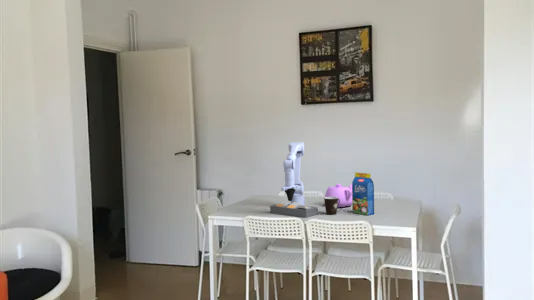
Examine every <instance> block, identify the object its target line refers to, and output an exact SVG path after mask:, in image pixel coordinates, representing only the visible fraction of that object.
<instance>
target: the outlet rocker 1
mask: <svg viewBox="0 0 534 300" xmlns="http://www.w3.org/2000/svg"><path fill="white" fill-rule="evenodd" d="M288 204H291V201H288V200H285V201H284V200H282V201H281V202H279V203H277V205H276V204H275V205H276V206H278V207H283V206H287V205H288Z"/></svg>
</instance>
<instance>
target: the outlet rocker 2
mask: <svg viewBox="0 0 534 300" xmlns="http://www.w3.org/2000/svg"><path fill="white" fill-rule="evenodd" d="M299 205H301V202H293V203H292V204H291V203H290V205H289V206H288V207H287V208H296V207H297V206H299Z"/></svg>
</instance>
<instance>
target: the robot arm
mask: <svg viewBox="0 0 534 300" xmlns="http://www.w3.org/2000/svg"><path fill="white" fill-rule="evenodd" d="M288 151H289V153H288V154H287V156H286V159H285V160H284V161H283V172H284V181H285V182H284V183H285V184H284V186H283V187H281V192H284V193H285V194H286V197H287V201H288V202H290V204H292V203H293V202H301V205H303V206H306V205H305V204H306V203H305V202H306V199H305V195H304V193H305V188H304V187H305V186H304V185H305V184H304V183H303V181H301V163H302V162H301V161H302V157H303V156H304V154H305V142H304V141H302V142H300V141H299V142H298V141H297V142H296V141H295V142H293V141H290V142H288Z"/></svg>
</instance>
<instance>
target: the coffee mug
mask: <svg viewBox="0 0 534 300" xmlns="http://www.w3.org/2000/svg"><path fill="white" fill-rule="evenodd" d="M323 199H324V200H323V201H324V209H325V215H328V216H335V215H338V208H337V206H338V205H339V203H340V200H339V199H338V197H325V196H324V197H323ZM338 200H339V203H338Z"/></svg>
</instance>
